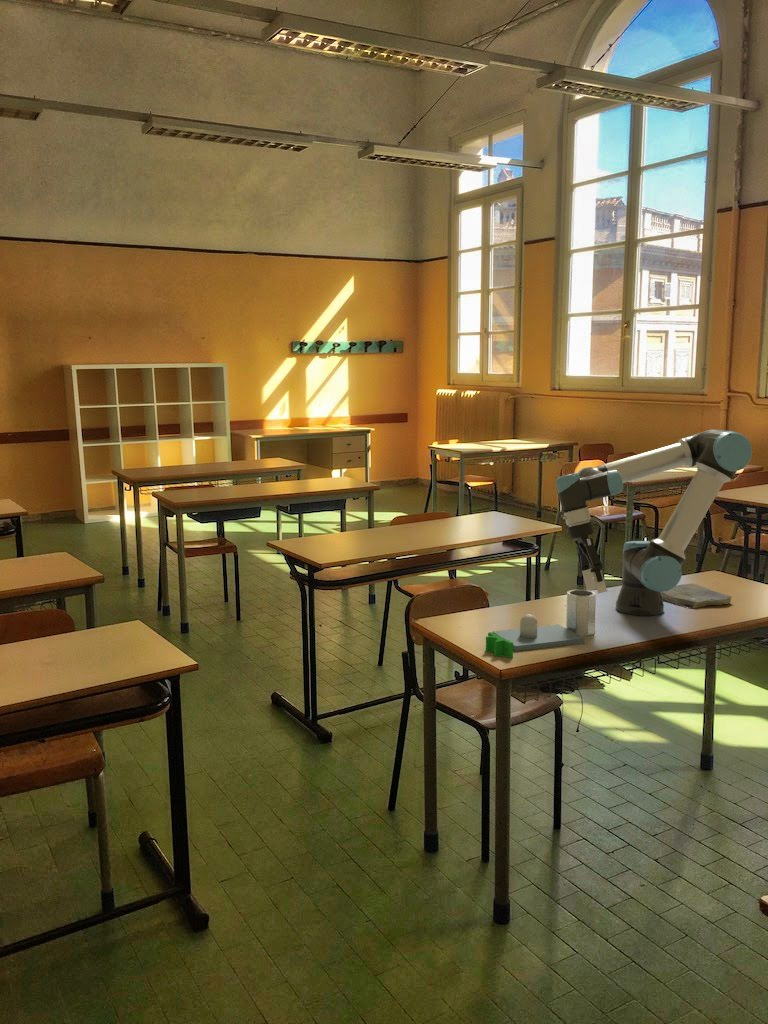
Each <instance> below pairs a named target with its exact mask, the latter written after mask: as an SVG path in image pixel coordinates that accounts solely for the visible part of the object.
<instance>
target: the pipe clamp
mask: <svg viewBox="0 0 768 1024" xmlns="http://www.w3.org/2000/svg"><path fill="white" fill-rule="evenodd" d="M487 633H488V634H487V636H485V652H486V653H493V655H494V657H495V656H496V657H503V656H505V657H506V658H508V659H513V658H514V650H513V642H511V641H509V640H507V639H504V638H502V637H500V636H498V635H496V634H494V633H493V631H492V632H491V631H489V632H487ZM496 657H495V658H496Z"/></svg>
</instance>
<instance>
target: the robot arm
mask: <svg viewBox="0 0 768 1024" xmlns="http://www.w3.org/2000/svg"><path fill="white" fill-rule="evenodd" d="M752 456H753V448H752V445H751V442H750V441H749V439H748V438H747V436H746V435H743V434H742V433H740V432H736V431H735V430H726V429H725V430H724V429H718V428H713V429H707V430H705V431H700V432H698V433H696V434H695V433H694V434H692V435H688V436H686V437H683V438H679V440H678V442H676V443H673V444H670V445H666V446H663V447H659V448H657V449H653V450H649V451H646V452H642V453H639V454H636V455H632V456H631V455H630V456H627V457H625V458H622V459H618V460H615V461H614V460H613V461H612V462H607V463H604V464H601V465H597V466H594V467H591V466H588V467H583V468H581V469H579V471H578V472H573V473H570V474H565V475H562V476H559V477H557V478H556V479H555V486H556V491H557V495H558V498H559V502H560V505H561V509H562V513H563V516H562V519H563V520H565V524H566V526H568V527H567V532H568V536H569V539H576V540H574V543H575V549H576V554H577V560H578V567H579V569H581V572H582V576H583V580H584V584H585V587H586V590H588V591H594V590H596V592H597V594H601V593H602V594H603V593H605V592H608V589H607V586H606V582H605V578H604V575H603V571H602V569H603V565H602V562H601V559H600V557H599V553H598V551H597V549H596V546H595V543H594V539H593V537H589V535H593V534H594V533H595V530H594V526H593V523H592V522H591V521H590V520H591V519H592V518H591V514H590V511H589V507H588V504H587V503H588V502H590V501H594V500H598V499H602V498H607V497H610V496H612V497H613V496H615V495H618V494H620V493H622V492H623V491H624V483H628V482H631V481H635V480H638V479H642V478H645V477H649V476H652V475H655V474H660V473H663V472H667V471H670V470H675V469H678V468H681V467H686V468H688V469H689V468H692V467H696V472H695V474H694V476H693V477H692V479H691V481H690V482H689V484H688V486H687V487H686V489H685V491H684V493H683V494H682V496H681V498H680V500H679V501H678V503H677V505H676V507H675V509H674V510H673V511H672V514H671V515H670V517H669V519H668V521H667V522H666V524H665V526H664V528H663V529H662V531H661V533H660V535H659V536H658V537H657V538H653V539H651V540H631V541H626V542H624V544H623V550H622V573H621V574H622V576H621V577H622V580H621V588H620V590H619V593H618V596H617V599H616V600H615V610H616V611H618V612H620V613H623V614H627V615H634V616H648V617H649V616H656V615H660V614H662V613H664V610H665V609H664V608H665V607H664V601H663V599H662V597H661V594H660V592H664V591H668V590H670V589H672V588H674V587H675V586H677V585H679V583H680V581H681V579H682V575H683V572H682V571H683V570H682V566H683V564H684V562H686V561H685V560H686V553H685V550H686V548H687V547H688V545H689V543H690V541H691V540H692V539H693V536H694V535H695V533H696V531H697V530H698V528H699V526H700V525H701V522H703V519H704V517H705V516H706V515H707V512H708V510H709V509H710V507H711V506H712V504H713V503H714V500H715V499H716V497H717V496H718V494H719V492H720V490H721V489H722V487H723V485H724V484H725V483H729V482H732V480H733V478H734V476H735V475H736V473H737V472H738V471H741V470H743V469H745V467H747V466H748V465H749V464H750V461H751V459H752Z"/></svg>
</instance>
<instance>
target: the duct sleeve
mask: <svg viewBox="0 0 768 1024" xmlns="http://www.w3.org/2000/svg"><path fill="white" fill-rule="evenodd" d="M596 600H597V594H596V592H595V591H594V590H591V591H588V590H587V589H571V590H567V591H566V620H565V622H566V623H565V625H566V626H565V628H566V629H568V630H570V631H572V632H573V633H575V634H577V635H579V636H581V637H583V636H585V637H586V636H587V637H588V636H591V635H594V634H596V632H595V631H596V609H597V608H596V606H597V604H596V603H597V601H596Z"/></svg>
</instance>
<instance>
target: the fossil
mask: <svg viewBox="0 0 768 1024" xmlns="http://www.w3.org/2000/svg"><path fill="white" fill-rule="evenodd" d="M660 594H661V597H662V600H664V601H666V602H669V603H671V602H672V604H674V603H675V604H674V605H676V604H679V605H678V606H680V605H682V606H681V607H683V606H684V608H686V607H688V608H687V609H690V608H691V609H696V607H697V608H700V607H699V606H702V607H706V606H707V605H708V606H723V605H722V604H728V603H729V604H731V603H732V602H731V601H732V595H728V594H724V593H721V592H718V591H714V590H713V589H710V588H707V587H705V586H702V585H700V584H699V583H698V584H697V583H685V584H677V585H676V586H675V587H674V588H672V589H670V590H668V591H664V592H660ZM730 602H731V603H730ZM729 604H728V605H729Z"/></svg>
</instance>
